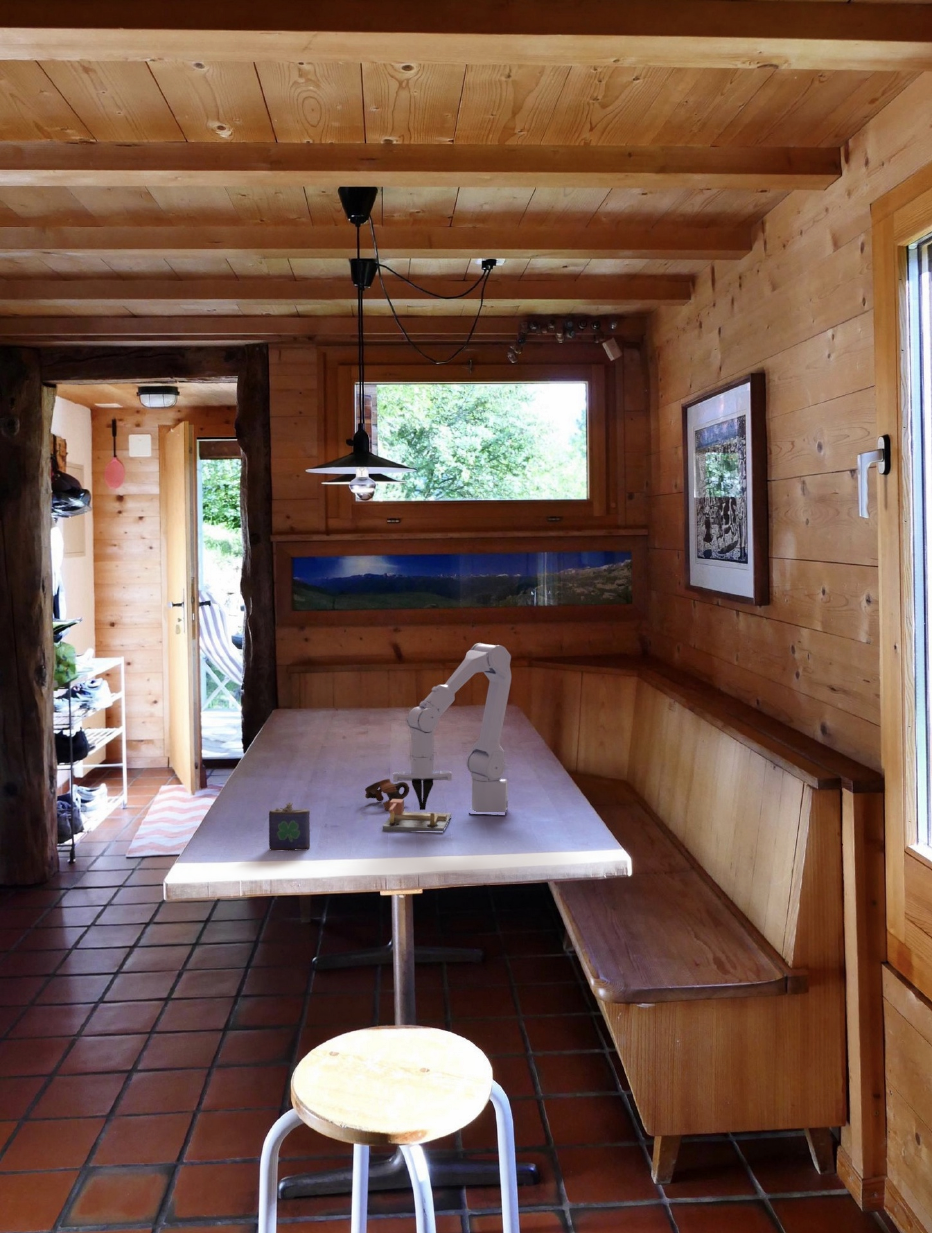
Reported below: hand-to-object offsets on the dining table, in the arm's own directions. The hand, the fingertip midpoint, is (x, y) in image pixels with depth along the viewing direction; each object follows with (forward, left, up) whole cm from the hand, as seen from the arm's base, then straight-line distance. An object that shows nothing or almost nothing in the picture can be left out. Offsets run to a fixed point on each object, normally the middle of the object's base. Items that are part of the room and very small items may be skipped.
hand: (422, 808), depth 238 cm
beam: (+1, +3, -2) cm, 4 cm away
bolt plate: (+1, +1, -4) cm, 4 cm away
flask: (+27, +25, -4) cm, 37 cm away
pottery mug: (+12, -16, -4) cm, 20 cm away
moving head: (+7, +3, -2) cm, 8 cm away
